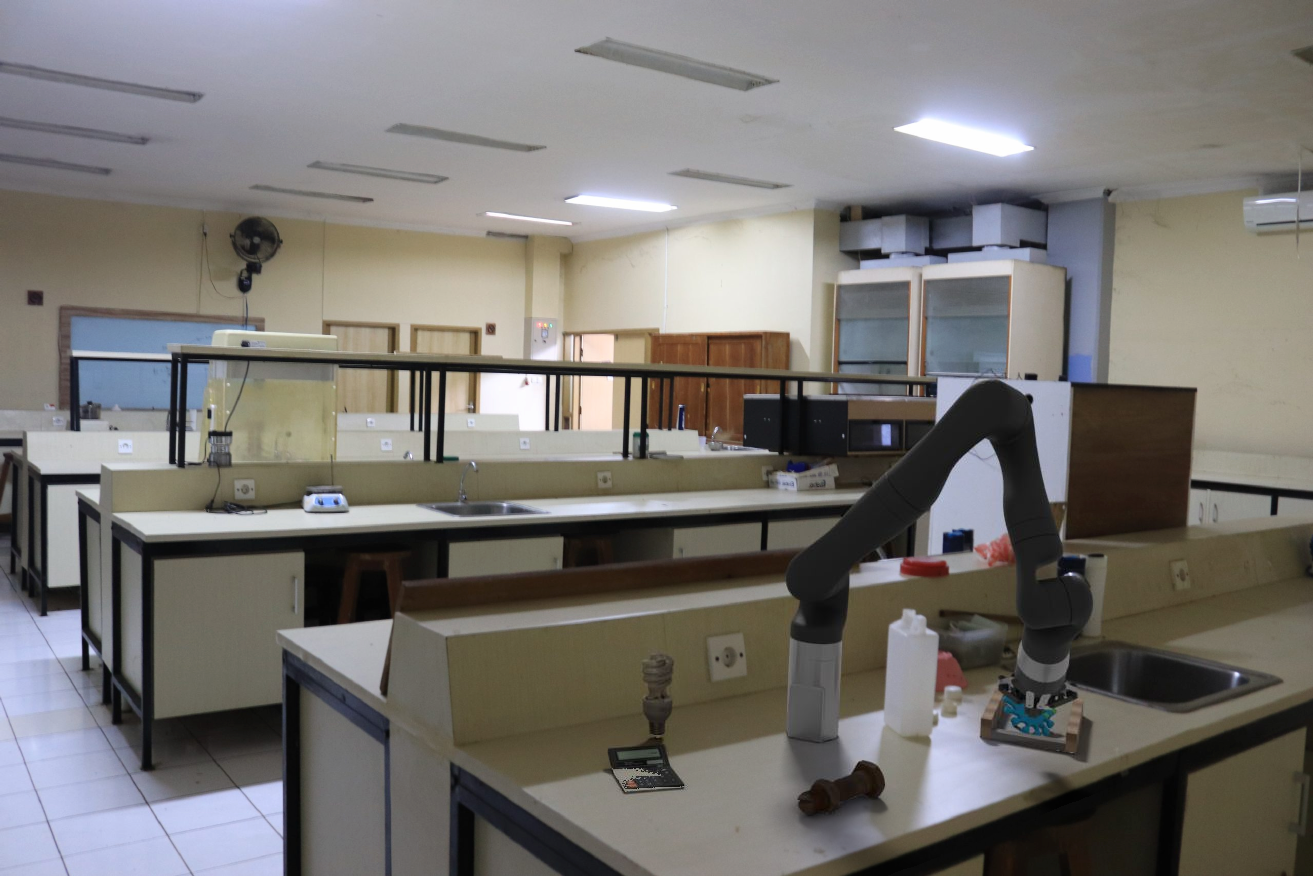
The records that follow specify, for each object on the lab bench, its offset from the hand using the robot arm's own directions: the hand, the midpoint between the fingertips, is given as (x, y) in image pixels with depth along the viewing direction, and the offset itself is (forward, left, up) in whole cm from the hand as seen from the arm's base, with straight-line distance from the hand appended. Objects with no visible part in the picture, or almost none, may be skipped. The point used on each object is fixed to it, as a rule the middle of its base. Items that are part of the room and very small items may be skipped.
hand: (1032, 712), depth 168 cm
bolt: (-38, +23, -8) cm, 45 cm away
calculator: (-43, +53, -8) cm, 68 cm away
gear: (+13, +1, -8) cm, 15 cm away
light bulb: (-27, +59, -7) cm, 65 cm away
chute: (+16, +1, -7) cm, 18 cm away
